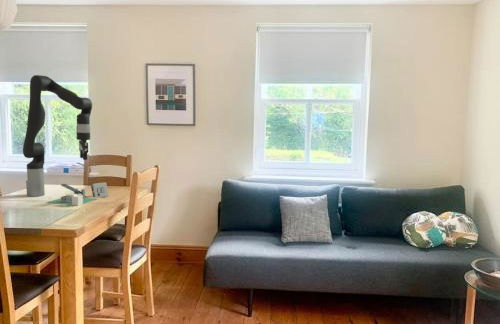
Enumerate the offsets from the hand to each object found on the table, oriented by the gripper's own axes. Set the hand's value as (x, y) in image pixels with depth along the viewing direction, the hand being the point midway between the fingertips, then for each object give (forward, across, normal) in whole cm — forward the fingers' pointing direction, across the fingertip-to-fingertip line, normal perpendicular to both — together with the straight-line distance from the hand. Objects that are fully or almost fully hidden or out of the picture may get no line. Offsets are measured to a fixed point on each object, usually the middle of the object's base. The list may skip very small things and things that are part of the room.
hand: (83, 158), depth 239 cm
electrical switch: (+26, -5, +10) cm, 28 cm away
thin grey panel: (+18, +4, -8) cm, 20 cm away
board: (+25, +4, -7) cm, 27 cm away
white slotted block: (+24, +4, -8) cm, 26 cm away
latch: (+24, +14, -8) cm, 29 cm away
